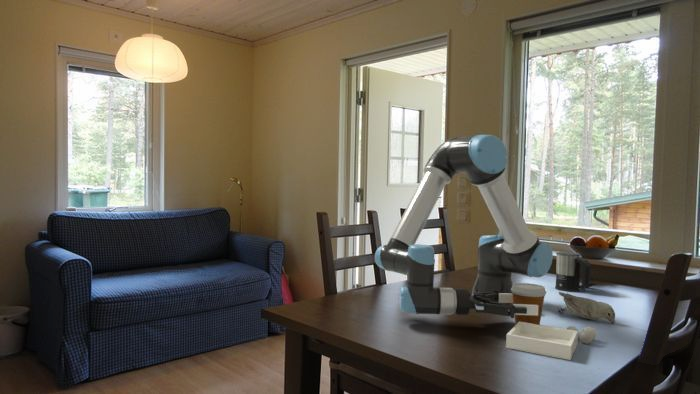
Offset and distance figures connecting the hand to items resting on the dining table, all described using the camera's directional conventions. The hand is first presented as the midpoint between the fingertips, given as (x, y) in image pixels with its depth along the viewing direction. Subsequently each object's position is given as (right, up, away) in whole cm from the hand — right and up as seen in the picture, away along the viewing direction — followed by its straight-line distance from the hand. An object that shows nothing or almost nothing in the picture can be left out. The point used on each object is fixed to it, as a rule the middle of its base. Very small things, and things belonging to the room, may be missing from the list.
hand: (529, 304), depth 137 cm
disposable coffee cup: (0, -7, 0) cm, 7 cm away
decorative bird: (+22, -8, +13) cm, 27 cm away
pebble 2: (+10, -7, -12) cm, 17 cm away
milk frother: (+41, -7, +60) cm, 73 cm away
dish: (-2, -7, -15) cm, 17 cm away
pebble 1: (+8, -7, -8) cm, 14 cm away
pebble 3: (+13, -7, -9) cm, 17 cm away
